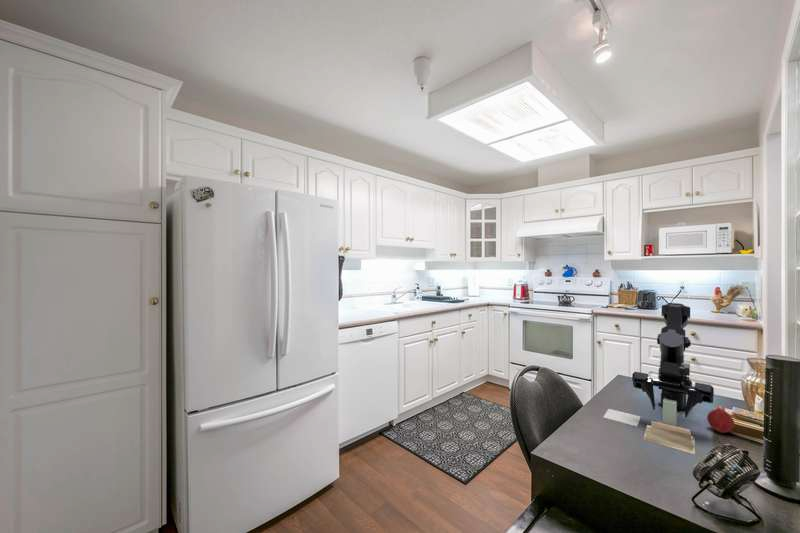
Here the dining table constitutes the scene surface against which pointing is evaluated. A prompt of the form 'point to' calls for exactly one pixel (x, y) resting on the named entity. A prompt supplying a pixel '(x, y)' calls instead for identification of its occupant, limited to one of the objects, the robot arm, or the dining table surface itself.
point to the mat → (622, 417)
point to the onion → (720, 420)
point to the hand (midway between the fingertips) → (669, 412)
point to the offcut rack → (670, 436)
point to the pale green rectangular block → (670, 412)
